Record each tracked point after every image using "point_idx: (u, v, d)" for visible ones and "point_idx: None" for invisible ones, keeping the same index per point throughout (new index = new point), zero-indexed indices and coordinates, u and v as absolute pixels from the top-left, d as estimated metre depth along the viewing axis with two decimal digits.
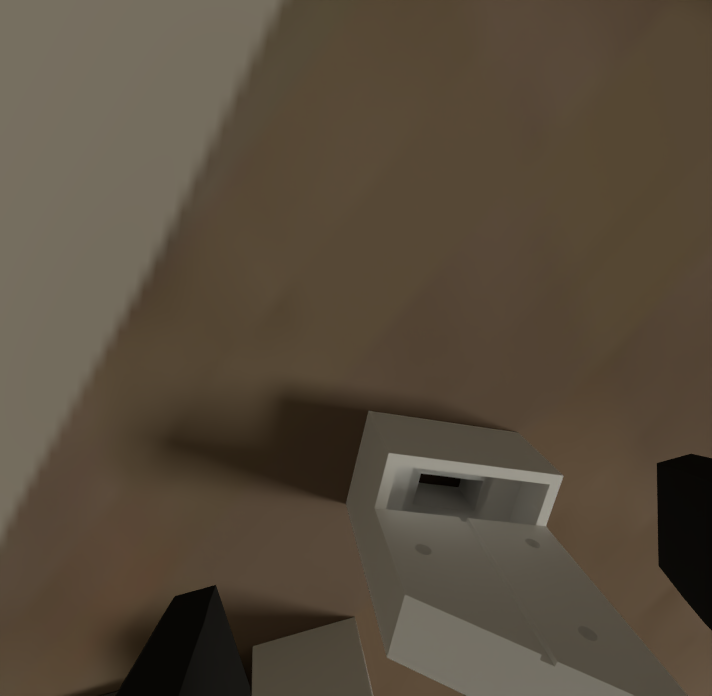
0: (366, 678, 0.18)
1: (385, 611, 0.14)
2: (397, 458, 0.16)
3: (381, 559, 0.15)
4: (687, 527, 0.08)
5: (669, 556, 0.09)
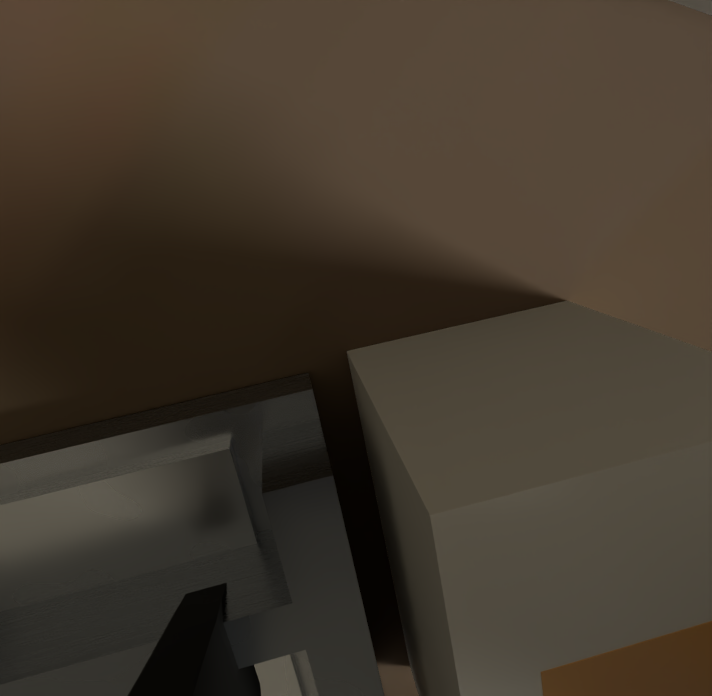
0: (677, 342, 0.07)
1: None
2: None
3: None
4: None
5: None
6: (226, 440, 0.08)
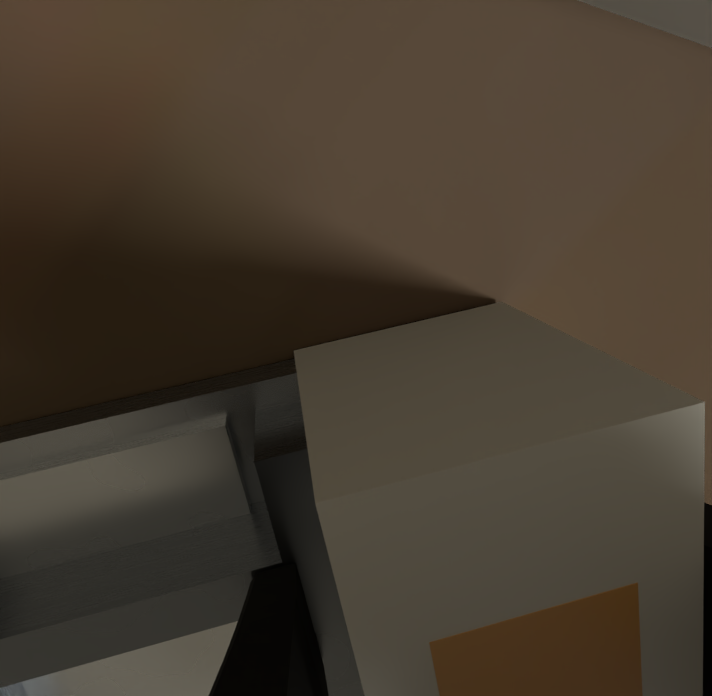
0: (582, 344, 0.07)
1: None
2: None
3: None
4: None
5: None
6: (222, 418, 0.09)
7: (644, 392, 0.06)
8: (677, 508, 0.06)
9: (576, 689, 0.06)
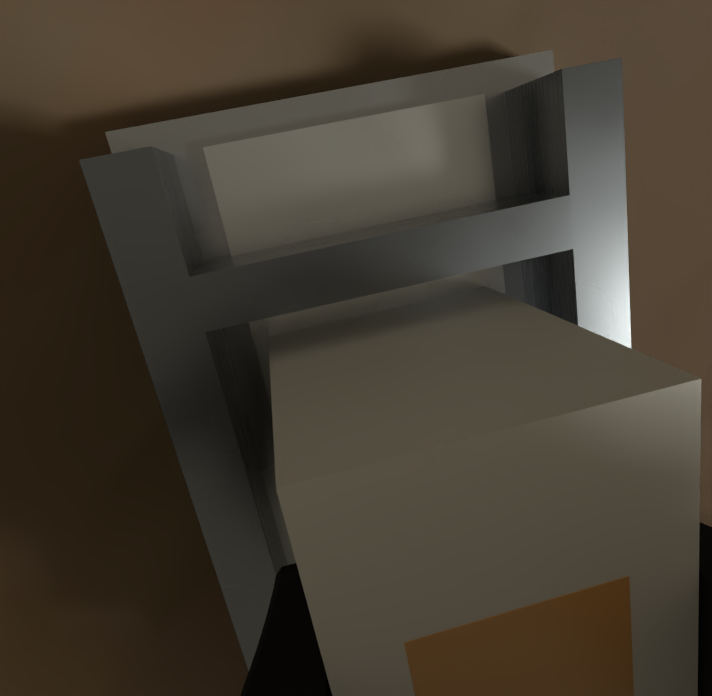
0: (569, 325, 0.07)
1: None
2: None
3: None
4: None
5: None
6: None
7: (635, 370, 0.05)
8: (671, 495, 0.05)
9: (563, 692, 0.06)
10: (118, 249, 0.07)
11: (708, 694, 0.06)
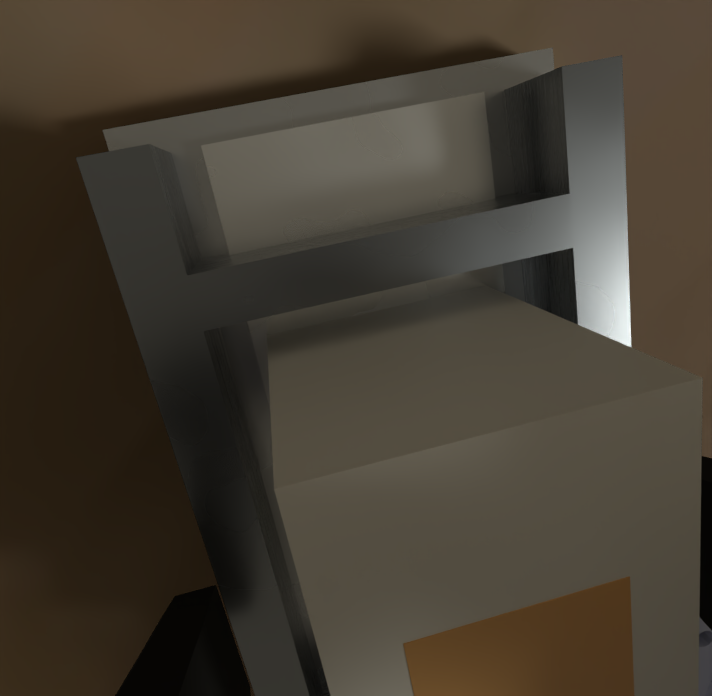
0: (569, 324, 0.07)
1: None
2: None
3: None
4: None
5: None
6: None
7: (637, 369, 0.05)
8: (672, 495, 0.05)
9: (564, 694, 0.06)
10: (115, 248, 0.07)
11: None
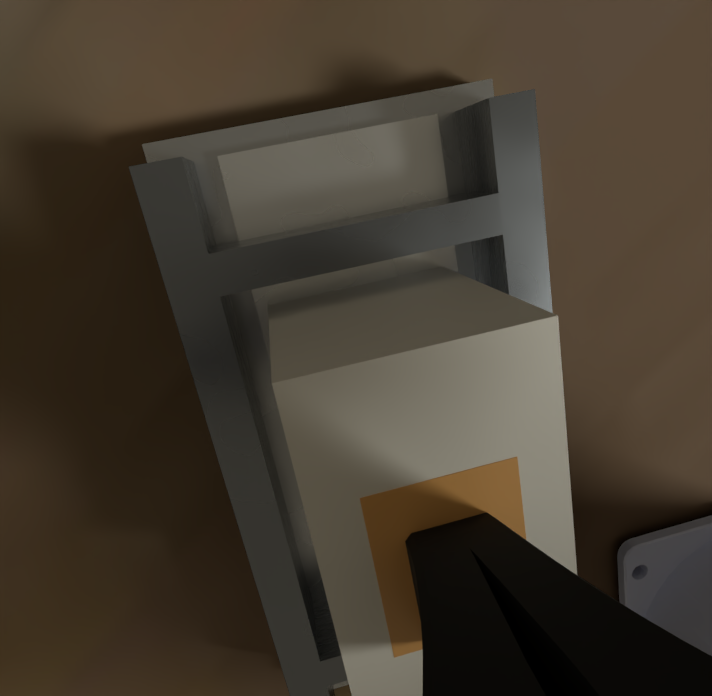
0: (491, 289, 0.09)
1: None
2: None
3: None
4: None
5: None
6: None
7: (520, 313, 0.08)
8: (543, 398, 0.08)
9: None
10: (156, 233, 0.10)
11: None
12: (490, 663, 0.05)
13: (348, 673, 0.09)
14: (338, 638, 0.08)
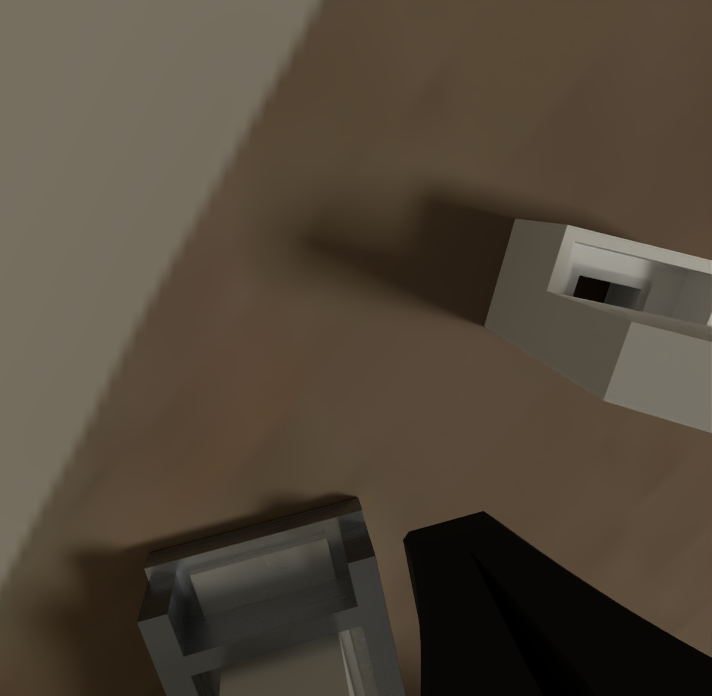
0: (345, 685, 0.16)
1: (590, 363, 0.13)
2: (575, 232, 0.14)
3: (573, 323, 0.13)
4: None
5: None
6: (323, 533, 0.18)
7: None
8: None
9: None
10: (152, 650, 0.16)
11: None
12: (488, 663, 0.05)
13: None
14: None
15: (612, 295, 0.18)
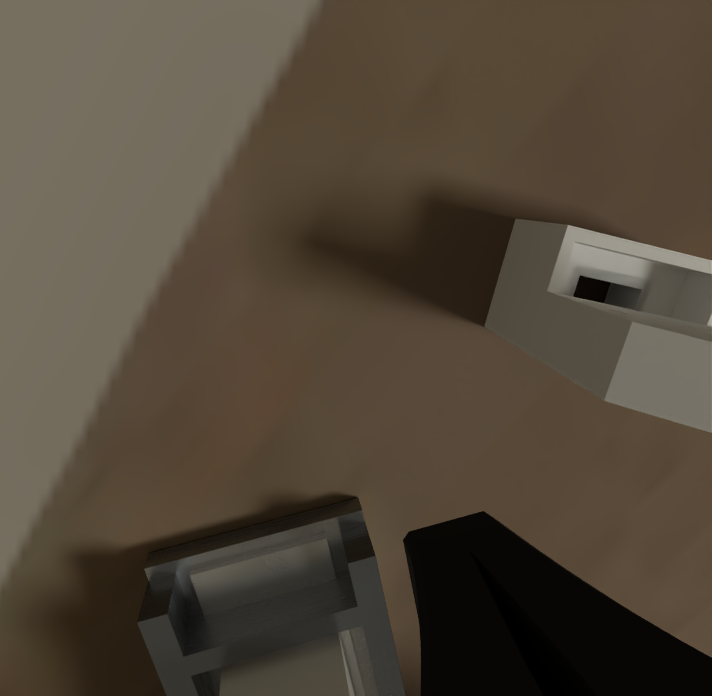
0: (345, 685, 0.16)
1: (591, 363, 0.13)
2: (576, 232, 0.15)
3: (573, 323, 0.13)
4: None
5: None
6: (323, 533, 0.18)
7: None
8: None
9: None
10: (152, 650, 0.16)
11: None
12: (488, 663, 0.05)
13: None
14: None
15: (612, 295, 0.18)
